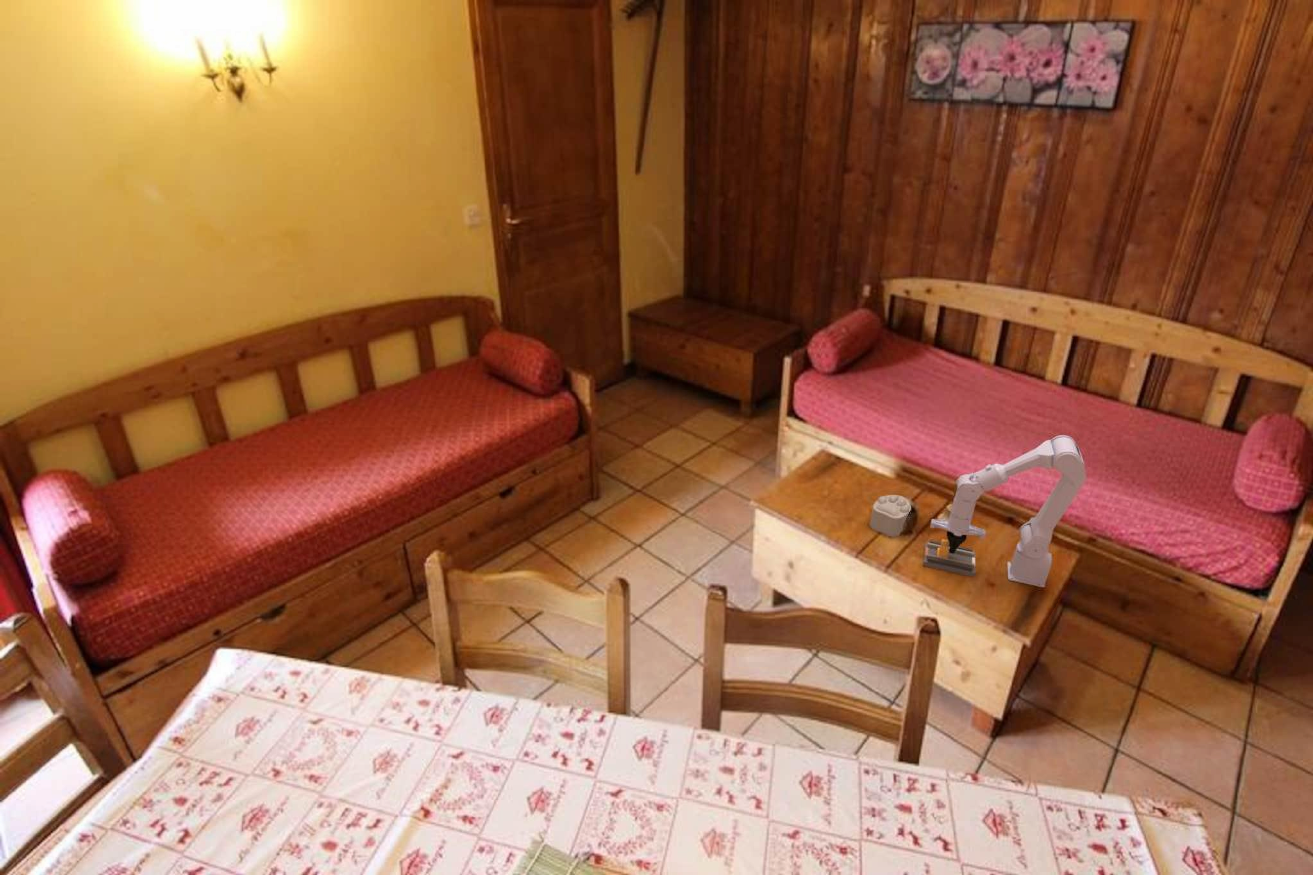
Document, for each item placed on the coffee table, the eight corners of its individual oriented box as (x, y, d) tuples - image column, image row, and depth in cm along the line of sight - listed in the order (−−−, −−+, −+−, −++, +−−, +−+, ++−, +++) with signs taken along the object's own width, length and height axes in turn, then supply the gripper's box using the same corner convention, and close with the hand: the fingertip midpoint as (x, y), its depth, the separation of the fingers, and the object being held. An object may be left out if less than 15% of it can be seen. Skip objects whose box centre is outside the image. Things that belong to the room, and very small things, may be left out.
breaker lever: (947, 552, 214) (950, 540, 212) (947, 560, 211) (950, 548, 209) (937, 549, 215) (940, 537, 213) (936, 558, 212) (939, 546, 209)
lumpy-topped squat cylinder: (865, 526, 228) (869, 503, 224) (884, 508, 236) (888, 486, 232) (896, 539, 222) (901, 516, 218) (914, 520, 230) (919, 498, 226)
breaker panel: (974, 556, 215) (976, 549, 213) (974, 577, 207) (976, 569, 205) (925, 545, 219) (926, 538, 218) (923, 565, 211) (924, 558, 210)
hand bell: (938, 527, 227) (948, 485, 219) (936, 512, 234) (945, 471, 226) (966, 531, 226) (977, 488, 218) (963, 515, 233) (973, 474, 225)
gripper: (934, 516, 203) (925, 553, 210) (989, 527, 199) (978, 565, 206) (935, 502, 209) (926, 539, 216) (988, 513, 205) (978, 550, 211)
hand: (951, 551), depth 211 cm, fingers closed
